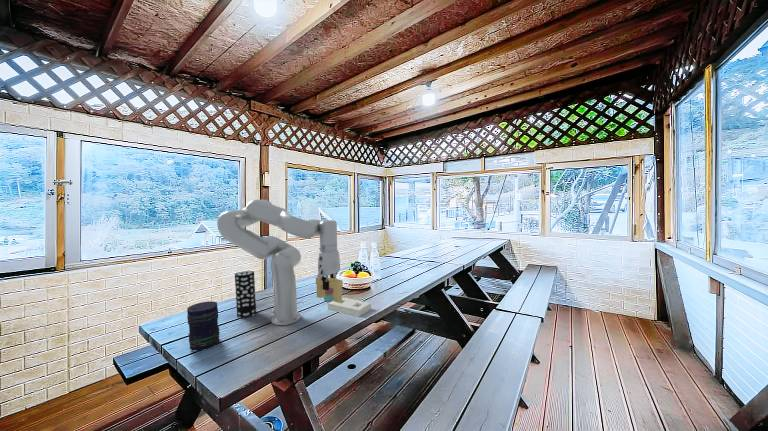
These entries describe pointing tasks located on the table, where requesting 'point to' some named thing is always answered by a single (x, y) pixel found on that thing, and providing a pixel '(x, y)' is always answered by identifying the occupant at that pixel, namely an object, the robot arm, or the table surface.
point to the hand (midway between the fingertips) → (329, 288)
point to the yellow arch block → (333, 283)
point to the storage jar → (203, 325)
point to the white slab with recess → (350, 306)
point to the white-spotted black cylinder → (245, 294)
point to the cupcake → (329, 295)
